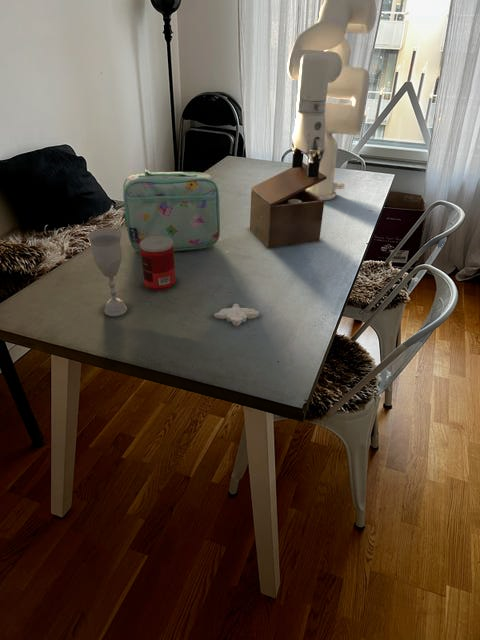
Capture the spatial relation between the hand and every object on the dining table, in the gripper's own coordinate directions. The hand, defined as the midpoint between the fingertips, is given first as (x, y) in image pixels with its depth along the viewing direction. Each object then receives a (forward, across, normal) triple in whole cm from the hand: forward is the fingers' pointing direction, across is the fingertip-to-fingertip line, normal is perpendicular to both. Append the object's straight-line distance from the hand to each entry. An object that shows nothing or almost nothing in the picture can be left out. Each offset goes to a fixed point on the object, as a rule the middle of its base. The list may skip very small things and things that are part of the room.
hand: (304, 171), depth 133 cm
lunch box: (+19, +2, +39) cm, 43 cm away
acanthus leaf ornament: (+19, -38, +34) cm, 54 cm away
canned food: (+19, -18, +47) cm, 54 cm away
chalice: (+19, -27, +59) cm, 68 cm away
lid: (+3, 0, +5) cm, 6 cm away
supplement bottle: (+18, 0, +2) cm, 18 cm away
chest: (+19, 0, +5) cm, 19 cm away
